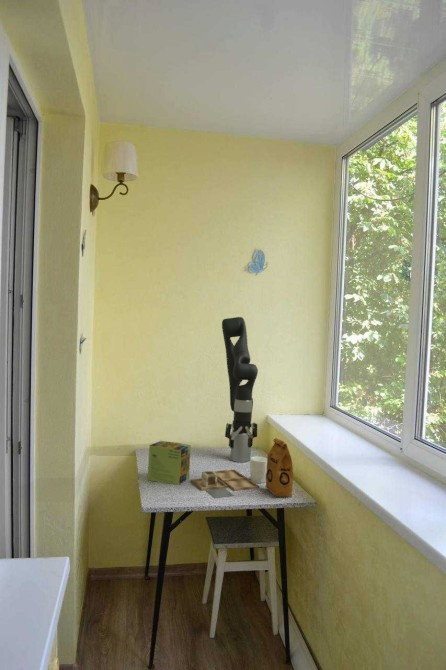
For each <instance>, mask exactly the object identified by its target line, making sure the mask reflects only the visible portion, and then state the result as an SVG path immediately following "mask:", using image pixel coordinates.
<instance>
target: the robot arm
mask: <svg viewBox="0 0 446 670" xmlns="http://www.w3.org/2000/svg"><path fill="white" fill-rule="evenodd" d="M221 328H222V329H221V330H222V335H223V341H224V348H225V353H226V354H225V356H226V367H227V369H226V370H227V374H228V375H227V376H228V382H229V402H230V403H229V405H230V409H231V411H232V412H233V420H232V423H228V422H227V423H226V425H225V434H224V437H225V438H226V439H228V446H229V448H230V461H233V462H237V463H246V462H251V451H252V446H253V443H254V439H255V438H257V437H258V423H256V422H252V416H253V406H254V400H253V389H254V385H255V382H256V379H257V377H258V374H259V373H258V372H259V370H258V367H257V365H256V364H254V363H251V355H250V352H249V347H248V346H249V345H248V335H247V325H246V320H245V319H244V317H242V316H237V317H235V316H234V317H227V318H224V319H222V321H221ZM236 337H237V338H238V339H237V340H236V342H235V343H234V344H233V342H232V339H231V338H236ZM243 381H246V383H244V384H242V382H243ZM251 422H252V423H251ZM251 428H252V429H251Z"/></svg>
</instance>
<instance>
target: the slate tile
mask: <svg viewBox="0 0 446 670" xmlns="http://www.w3.org/2000/svg"><path fill="white" fill-rule="evenodd" d="M204 492H206V493H207V494H208V495H210V496H211V497H212V498H213V499H222V498H230V497H235V494H233V493H232V492H230V491H229V490H228V488H223V489H214V490H204Z"/></svg>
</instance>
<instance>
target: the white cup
mask: <svg viewBox="0 0 446 670" xmlns="http://www.w3.org/2000/svg"><path fill="white" fill-rule="evenodd" d="M249 464H250V473H249V474H250V480H251V481H253V482H254V483H256V484H264V483H266V472H267V457H265V456H250V463H249Z"/></svg>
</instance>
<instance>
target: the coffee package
mask: <svg viewBox="0 0 446 670" xmlns="http://www.w3.org/2000/svg"><path fill="white" fill-rule="evenodd" d="M273 442H274V443H273V445H272V446H271V448H270V451H269V452H268V454H267V457H266V458H267V472H266V482H265V488H266V489H267V490H268V491H269V492H271V494H272V495H274V496H275V497H277V498H279V497H280V498H289V497H293V484H294V483H293V482H294V469H293V468H294V467H293V459H292V456H291V454H290V450H289V447H288V444H287V443H286V442H285V441H284V440H282V439H279V438H277V437H275V438H273Z"/></svg>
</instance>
